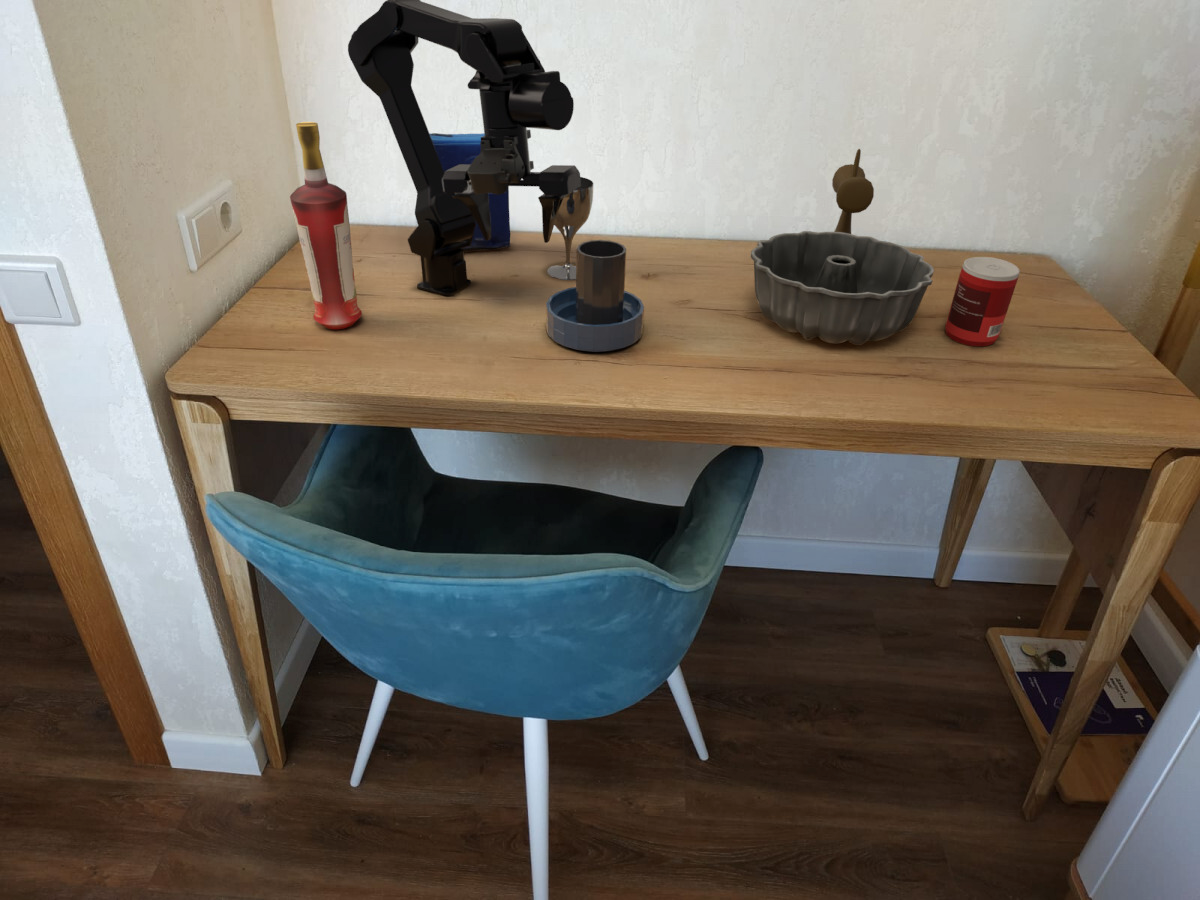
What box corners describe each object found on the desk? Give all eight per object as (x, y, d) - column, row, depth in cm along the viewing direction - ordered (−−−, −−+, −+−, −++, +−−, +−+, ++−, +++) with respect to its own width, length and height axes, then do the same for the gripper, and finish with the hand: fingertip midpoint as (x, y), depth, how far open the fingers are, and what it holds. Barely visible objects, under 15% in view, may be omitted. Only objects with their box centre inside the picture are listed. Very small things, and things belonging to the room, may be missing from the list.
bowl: (528, 340, 119) (528, 311, 117) (576, 305, 130) (576, 278, 127) (615, 364, 114) (616, 334, 112) (657, 326, 125) (659, 298, 122)
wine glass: (585, 282, 137) (587, 192, 129) (539, 277, 139) (538, 187, 130) (595, 265, 144) (598, 178, 135) (551, 260, 145) (550, 174, 137)
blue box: (431, 256, 145) (420, 138, 134) (430, 245, 150) (419, 130, 138) (512, 252, 148) (509, 136, 137) (509, 242, 152) (505, 128, 141)
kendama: (822, 273, 144) (844, 155, 133) (816, 253, 152) (837, 140, 140) (857, 276, 143) (882, 157, 132) (850, 256, 151) (873, 142, 140)
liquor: (315, 313, 125) (280, 118, 109) (365, 310, 126) (337, 117, 110) (311, 335, 119) (273, 131, 103) (364, 331, 120) (334, 130, 105)
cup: (572, 339, 119) (573, 255, 112) (579, 319, 124) (580, 238, 117) (619, 343, 118) (623, 259, 111) (624, 322, 124) (628, 241, 117)
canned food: (996, 329, 127) (1018, 260, 121) (998, 351, 121) (1022, 280, 115) (943, 320, 129) (962, 253, 123) (943, 342, 123) (963, 272, 116)
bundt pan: (748, 279, 141) (755, 221, 135) (908, 296, 137) (923, 237, 131) (737, 348, 119) (746, 283, 114) (927, 371, 115) (946, 304, 109)
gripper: (413, 136, 107) (432, 255, 115) (547, 136, 102) (558, 260, 110) (453, 122, 116) (468, 232, 124) (578, 121, 111) (585, 237, 119)
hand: (517, 240), depth 119 cm, fingers open, 9 cm apart
